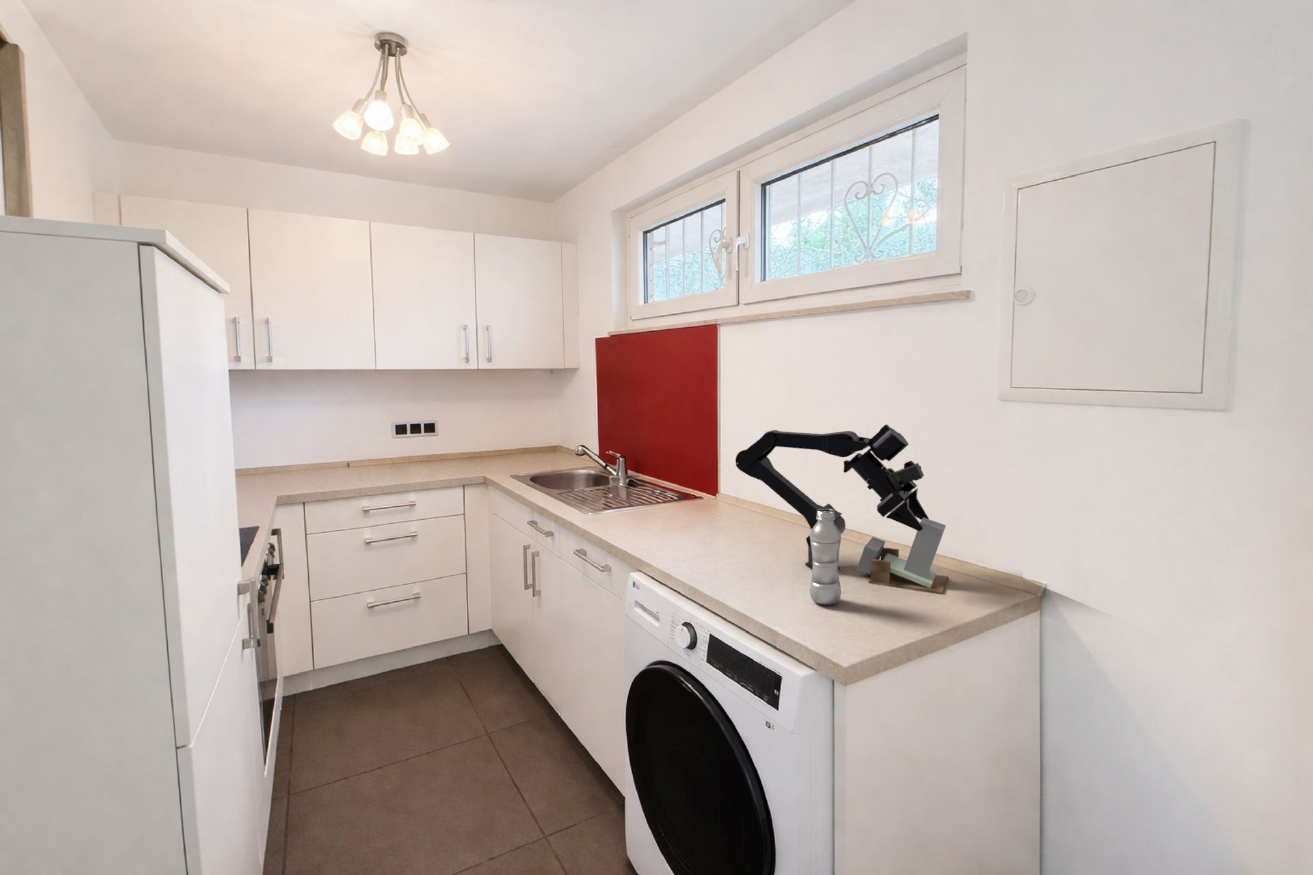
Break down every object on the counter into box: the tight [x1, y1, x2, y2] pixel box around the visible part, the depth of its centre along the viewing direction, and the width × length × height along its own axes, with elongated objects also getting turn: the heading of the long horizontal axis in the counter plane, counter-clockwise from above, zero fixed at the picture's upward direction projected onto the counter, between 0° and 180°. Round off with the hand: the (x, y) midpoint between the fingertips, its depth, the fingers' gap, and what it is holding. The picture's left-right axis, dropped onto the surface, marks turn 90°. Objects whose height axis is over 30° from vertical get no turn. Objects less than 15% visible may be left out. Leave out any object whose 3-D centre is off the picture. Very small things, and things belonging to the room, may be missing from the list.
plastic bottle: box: [809, 509, 842, 606], centre depth 129 cm, size 6×7×20 cm
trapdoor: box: [856, 536, 938, 588], centre depth 143 cm, size 16×9×6 cm, turn 59°
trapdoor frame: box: [868, 547, 949, 595], centre depth 142 cm, size 16×12×6 cm
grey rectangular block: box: [904, 517, 946, 579], centre depth 140 cm, size 5×5×12 cm
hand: (924, 525), depth 139 cm, fingers open, 9 cm apart
